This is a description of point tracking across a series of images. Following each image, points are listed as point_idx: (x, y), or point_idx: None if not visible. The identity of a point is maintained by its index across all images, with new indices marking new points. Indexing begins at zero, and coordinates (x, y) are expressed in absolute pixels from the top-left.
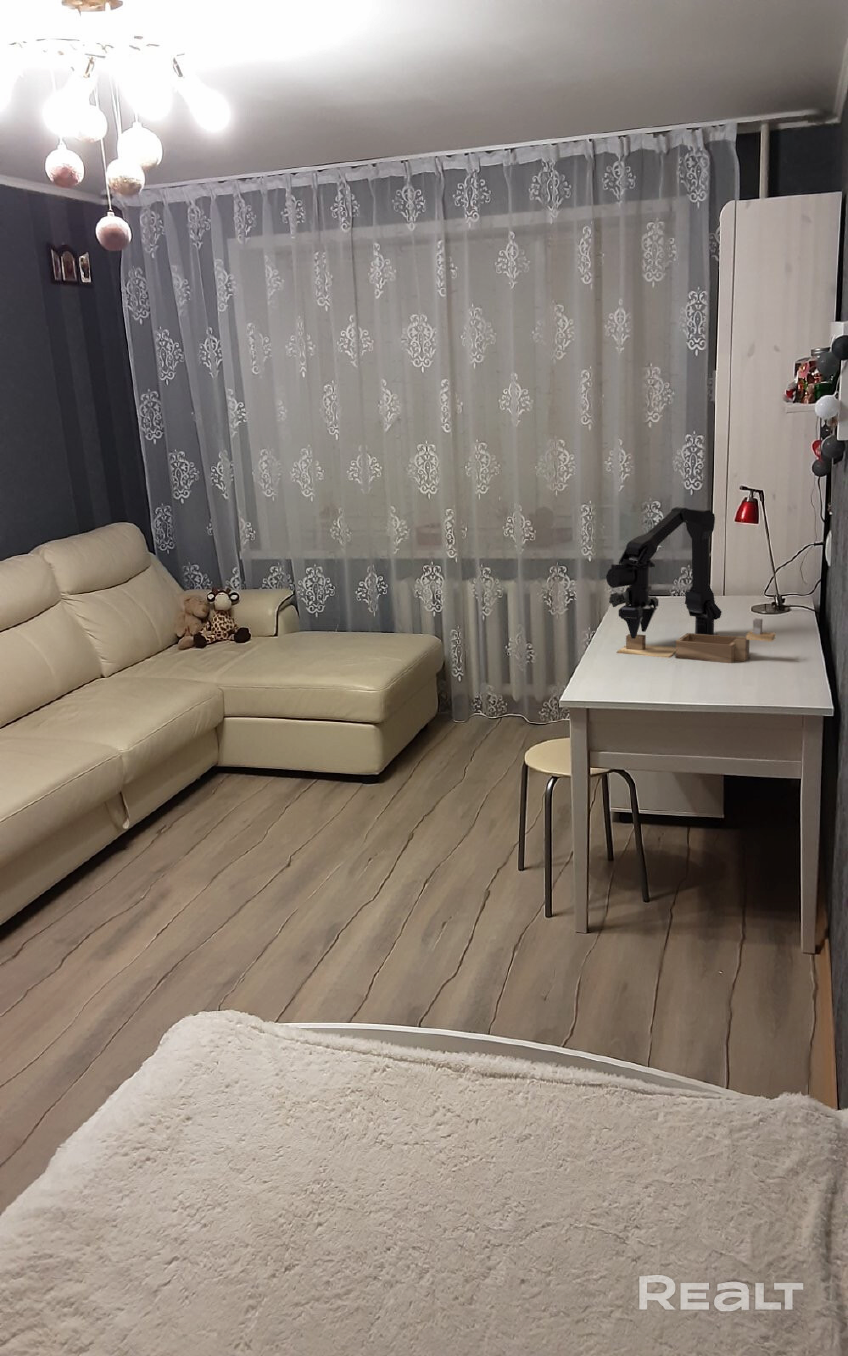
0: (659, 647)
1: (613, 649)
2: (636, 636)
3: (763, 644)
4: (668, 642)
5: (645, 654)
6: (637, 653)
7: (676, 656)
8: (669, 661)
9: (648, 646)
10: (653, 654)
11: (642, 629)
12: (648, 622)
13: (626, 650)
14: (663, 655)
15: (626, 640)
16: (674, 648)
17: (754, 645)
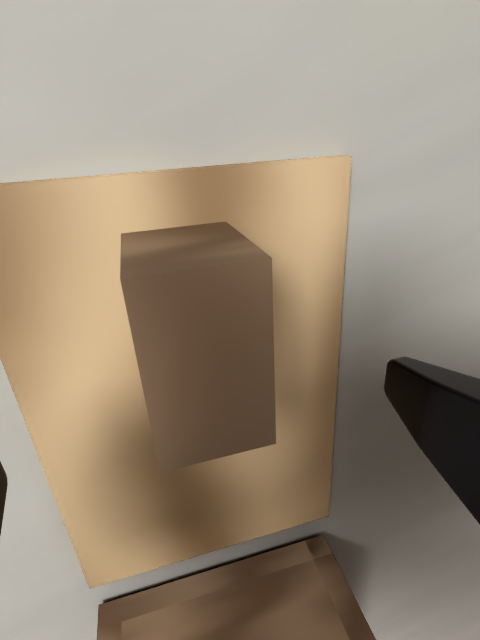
0: (292, 430)
1: (110, 57)
2: (165, 405)
3: (475, 634)
4: (474, 372)
5: (42, 462)
6: (20, 406)
7: (100, 620)
8: (14, 614)
9: (293, 358)
10: (69, 508)
11: (402, 380)
12: (471, 511)
13: (60, 268)
14: (85, 560)
15: (121, 263)
16: (298, 505)
17: (459, 628)
